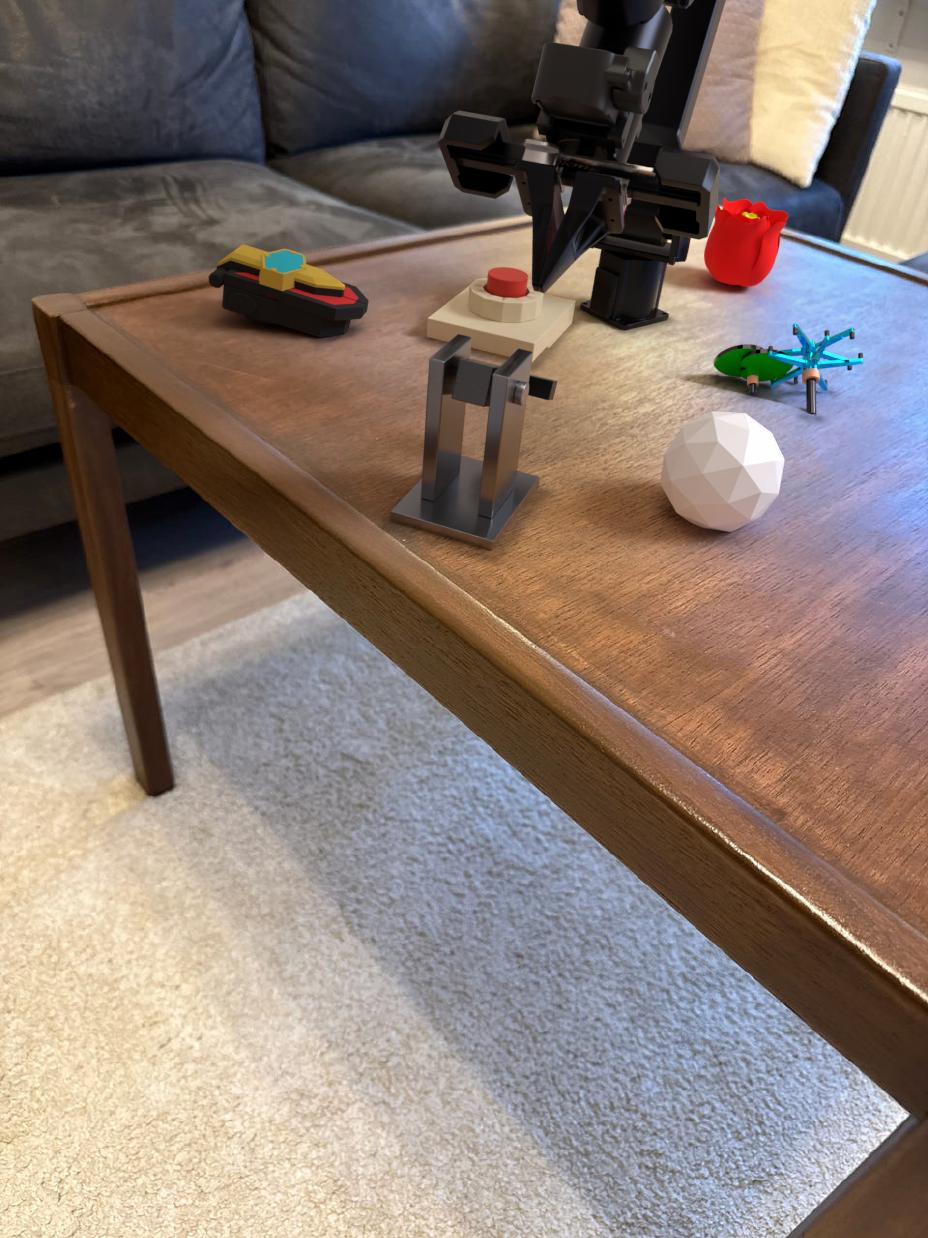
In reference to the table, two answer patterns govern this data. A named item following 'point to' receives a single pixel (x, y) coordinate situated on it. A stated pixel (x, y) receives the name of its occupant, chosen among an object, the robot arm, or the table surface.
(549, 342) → the control box
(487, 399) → the press lever
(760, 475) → the geometric ball
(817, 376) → the stick construction toy
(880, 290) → the table surface
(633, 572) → the table surface
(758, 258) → the flower
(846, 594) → the table surface
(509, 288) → the button
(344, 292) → the gadget
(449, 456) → the grey metal stand
